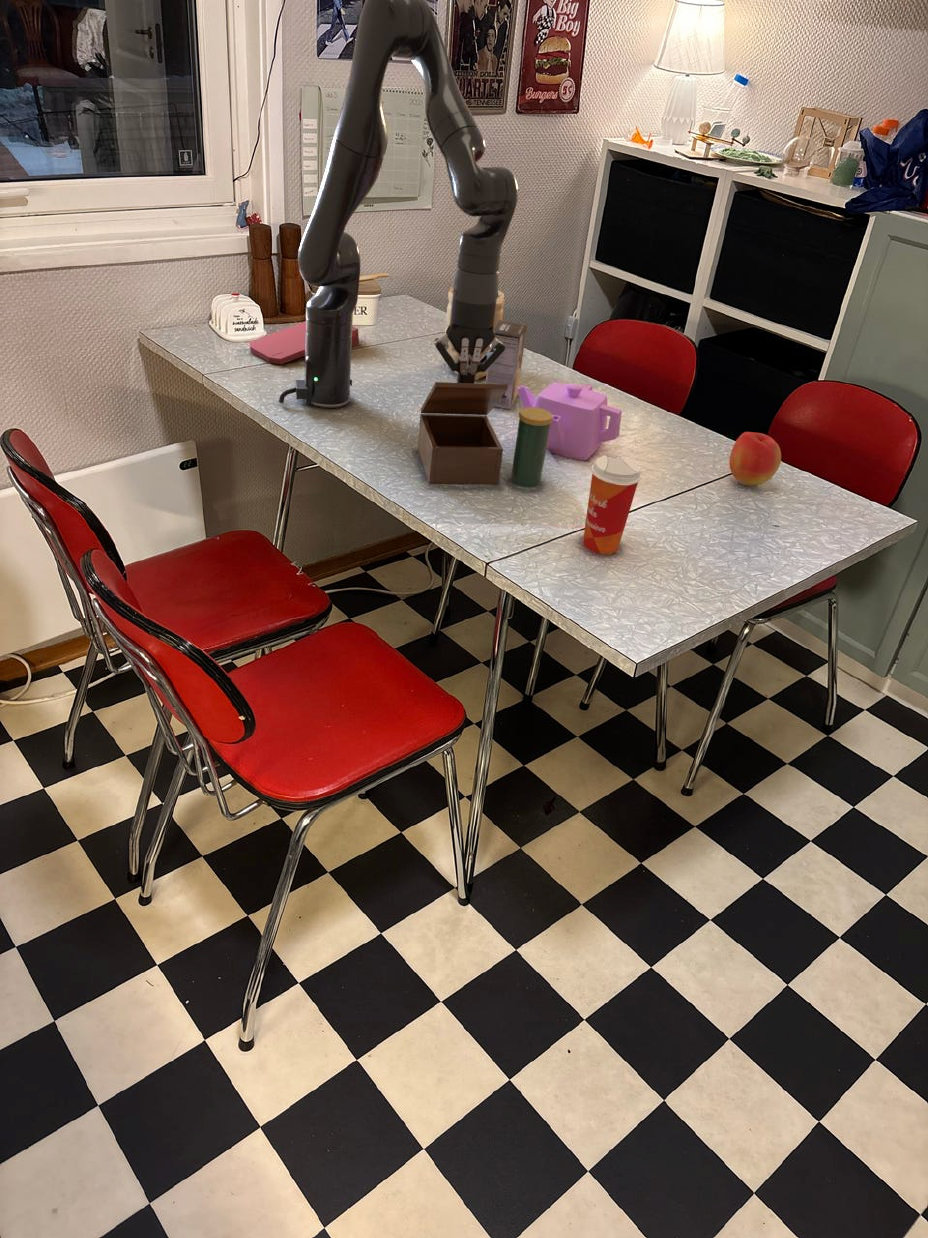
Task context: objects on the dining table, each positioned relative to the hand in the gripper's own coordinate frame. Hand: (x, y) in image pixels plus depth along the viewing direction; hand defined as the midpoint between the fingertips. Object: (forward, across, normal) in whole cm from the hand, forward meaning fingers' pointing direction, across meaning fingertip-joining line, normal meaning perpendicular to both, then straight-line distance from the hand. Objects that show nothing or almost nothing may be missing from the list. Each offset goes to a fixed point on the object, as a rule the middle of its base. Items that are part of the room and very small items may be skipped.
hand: (464, 392), depth 171 cm
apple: (+15, -58, +5) cm, 60 cm away
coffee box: (+15, -16, -33) cm, 40 cm away
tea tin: (+15, -12, +7) cm, 20 cm away
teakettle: (+15, -24, -11) cm, 30 cm away
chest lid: (+2, 0, 0) cm, 2 cm away
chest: (+15, 0, +1) cm, 15 cm away
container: (+15, -12, -50) cm, 54 cm away
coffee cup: (+15, -20, +29) cm, 38 cm away
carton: (+15, +25, -61) cm, 67 cm away
